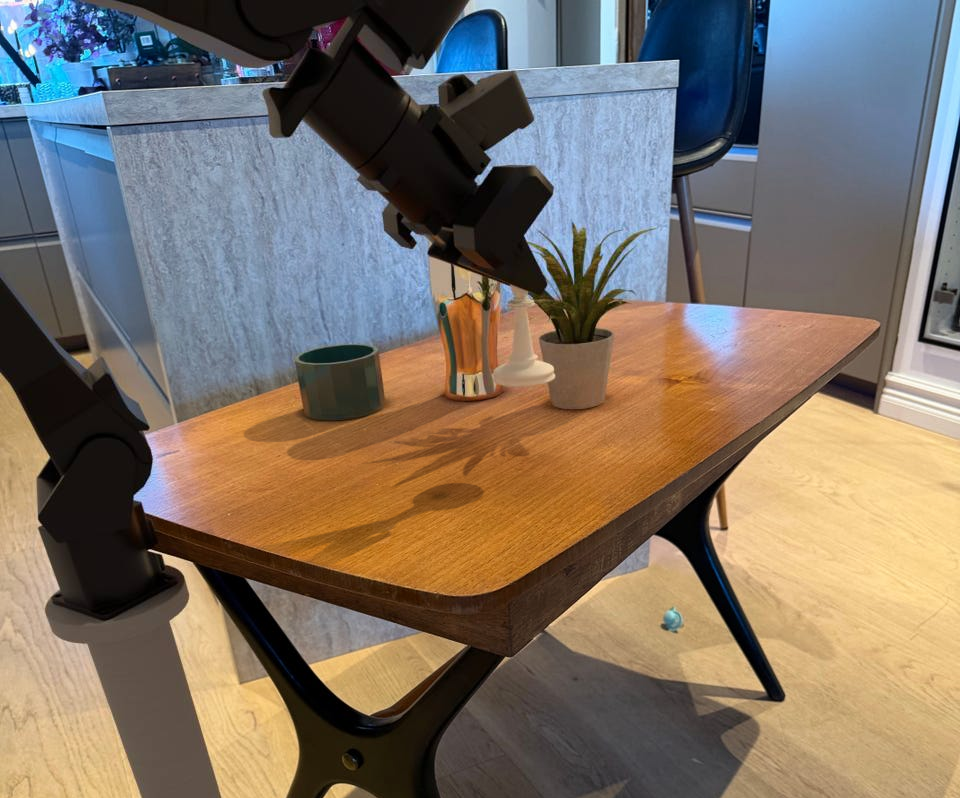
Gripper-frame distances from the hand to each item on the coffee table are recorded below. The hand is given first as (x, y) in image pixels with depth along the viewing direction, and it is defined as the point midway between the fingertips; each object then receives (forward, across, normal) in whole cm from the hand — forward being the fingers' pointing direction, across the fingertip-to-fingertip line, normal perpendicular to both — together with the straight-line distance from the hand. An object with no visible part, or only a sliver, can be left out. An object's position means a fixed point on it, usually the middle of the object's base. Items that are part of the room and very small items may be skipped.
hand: (536, 288), depth 67 cm
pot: (+3, +25, +16) cm, 30 cm away
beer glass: (+12, +22, +7) cm, 26 cm away
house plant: (+18, +13, +1) cm, 22 cm away
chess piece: (+4, 0, +6) cm, 7 cm away
